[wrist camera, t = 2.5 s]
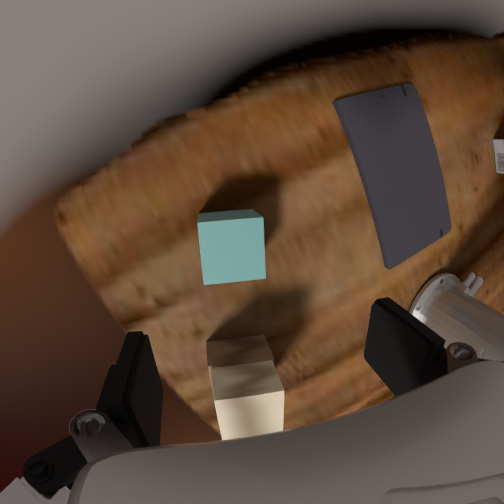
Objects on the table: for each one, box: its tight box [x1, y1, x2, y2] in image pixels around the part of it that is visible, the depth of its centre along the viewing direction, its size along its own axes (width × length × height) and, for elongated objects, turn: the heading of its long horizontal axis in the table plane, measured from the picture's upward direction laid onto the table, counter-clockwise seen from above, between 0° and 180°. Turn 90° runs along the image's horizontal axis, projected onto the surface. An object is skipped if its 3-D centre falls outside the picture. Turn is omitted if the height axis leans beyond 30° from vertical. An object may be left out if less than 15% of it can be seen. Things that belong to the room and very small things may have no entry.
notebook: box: [333, 83, 451, 270], centre depth 31 cm, size 13×2×21 cm
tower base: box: [206, 334, 274, 397], centre depth 32 cm, size 7×7×5 cm
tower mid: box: [211, 360, 284, 440], centre depth 27 cm, size 6×6×5 cm
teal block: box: [198, 209, 266, 285], centre depth 27 cm, size 6×6×6 cm
